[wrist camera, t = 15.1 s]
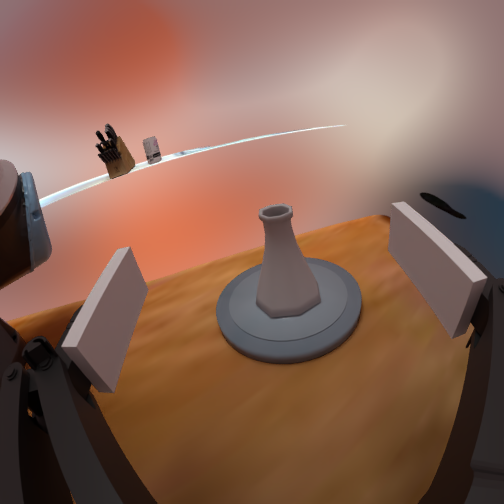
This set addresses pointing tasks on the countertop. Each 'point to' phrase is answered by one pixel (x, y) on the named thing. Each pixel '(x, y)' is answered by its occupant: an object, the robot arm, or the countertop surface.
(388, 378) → the countertop surface
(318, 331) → the dish
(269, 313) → the flask
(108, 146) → the knife block
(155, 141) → the supplement can
